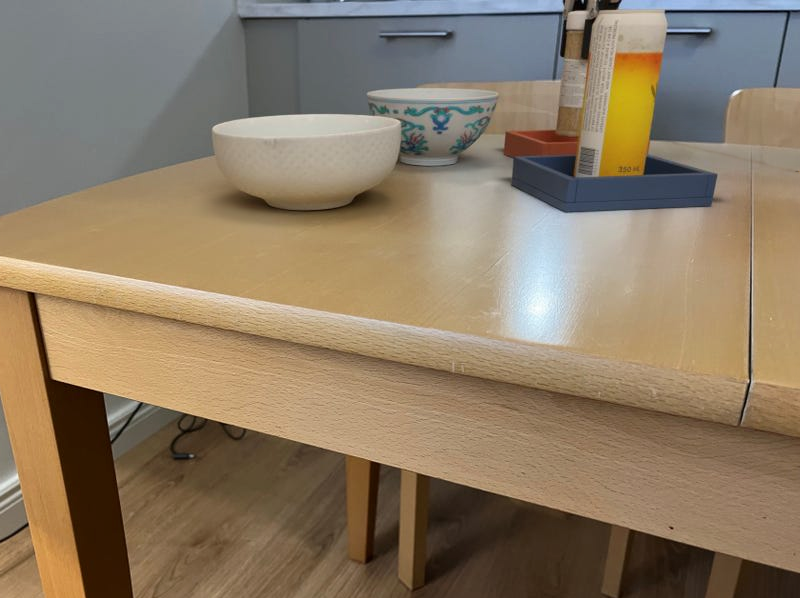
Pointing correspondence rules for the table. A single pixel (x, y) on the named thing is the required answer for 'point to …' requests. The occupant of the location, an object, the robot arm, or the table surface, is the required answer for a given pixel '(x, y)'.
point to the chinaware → (435, 120)
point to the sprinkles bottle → (572, 77)
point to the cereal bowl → (307, 157)
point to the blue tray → (613, 185)
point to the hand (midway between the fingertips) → (584, 56)
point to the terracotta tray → (539, 143)
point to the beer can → (620, 92)
